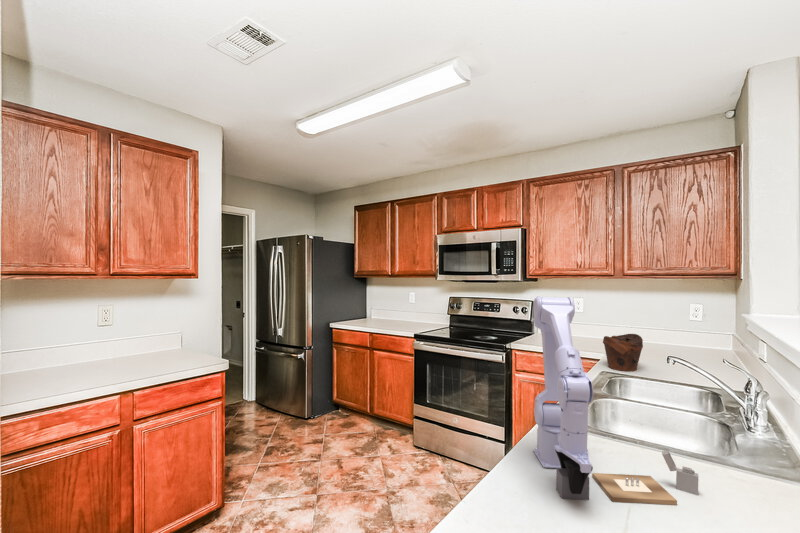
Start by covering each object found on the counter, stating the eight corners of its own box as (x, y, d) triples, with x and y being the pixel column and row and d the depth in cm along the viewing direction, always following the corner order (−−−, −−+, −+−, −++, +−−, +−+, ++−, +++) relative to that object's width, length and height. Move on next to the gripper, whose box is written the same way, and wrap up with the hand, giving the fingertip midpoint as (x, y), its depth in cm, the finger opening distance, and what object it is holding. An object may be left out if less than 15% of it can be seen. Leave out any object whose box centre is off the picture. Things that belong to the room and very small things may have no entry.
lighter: (697, 491, 91) (698, 458, 91) (697, 495, 89) (698, 460, 89) (661, 481, 95) (662, 448, 95) (661, 484, 94) (661, 451, 94)
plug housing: (556, 489, 91) (556, 468, 91) (582, 490, 90) (582, 469, 90) (561, 498, 87) (562, 476, 87) (588, 499, 87) (589, 477, 87)
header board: (592, 476, 96) (592, 465, 96) (650, 479, 96) (650, 468, 96) (612, 501, 86) (612, 489, 86) (677, 505, 86) (677, 492, 86)
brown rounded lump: (597, 368, 199) (599, 334, 199) (606, 361, 214) (608, 329, 214) (637, 376, 187) (639, 339, 187) (644, 368, 203) (646, 334, 202)
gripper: (545, 415, 96) (544, 469, 96) (568, 442, 82) (566, 506, 82) (574, 416, 96) (573, 471, 96) (602, 443, 81) (600, 508, 81)
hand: (572, 487), depth 89 cm, fingers closed on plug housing, 4 cm apart
